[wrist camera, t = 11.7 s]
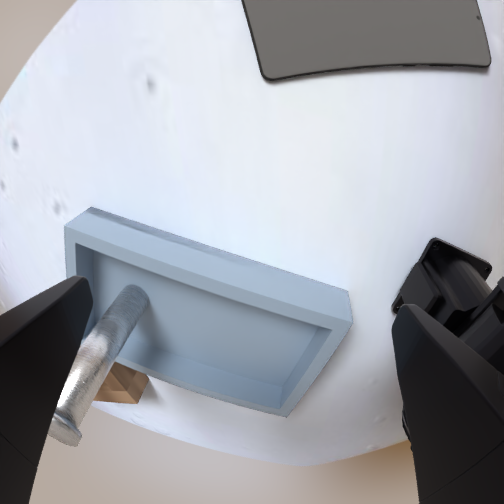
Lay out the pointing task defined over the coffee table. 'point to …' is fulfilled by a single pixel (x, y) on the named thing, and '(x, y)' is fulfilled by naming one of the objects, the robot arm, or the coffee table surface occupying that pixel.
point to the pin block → (122, 385)
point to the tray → (209, 313)
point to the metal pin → (96, 362)
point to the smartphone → (364, 34)
